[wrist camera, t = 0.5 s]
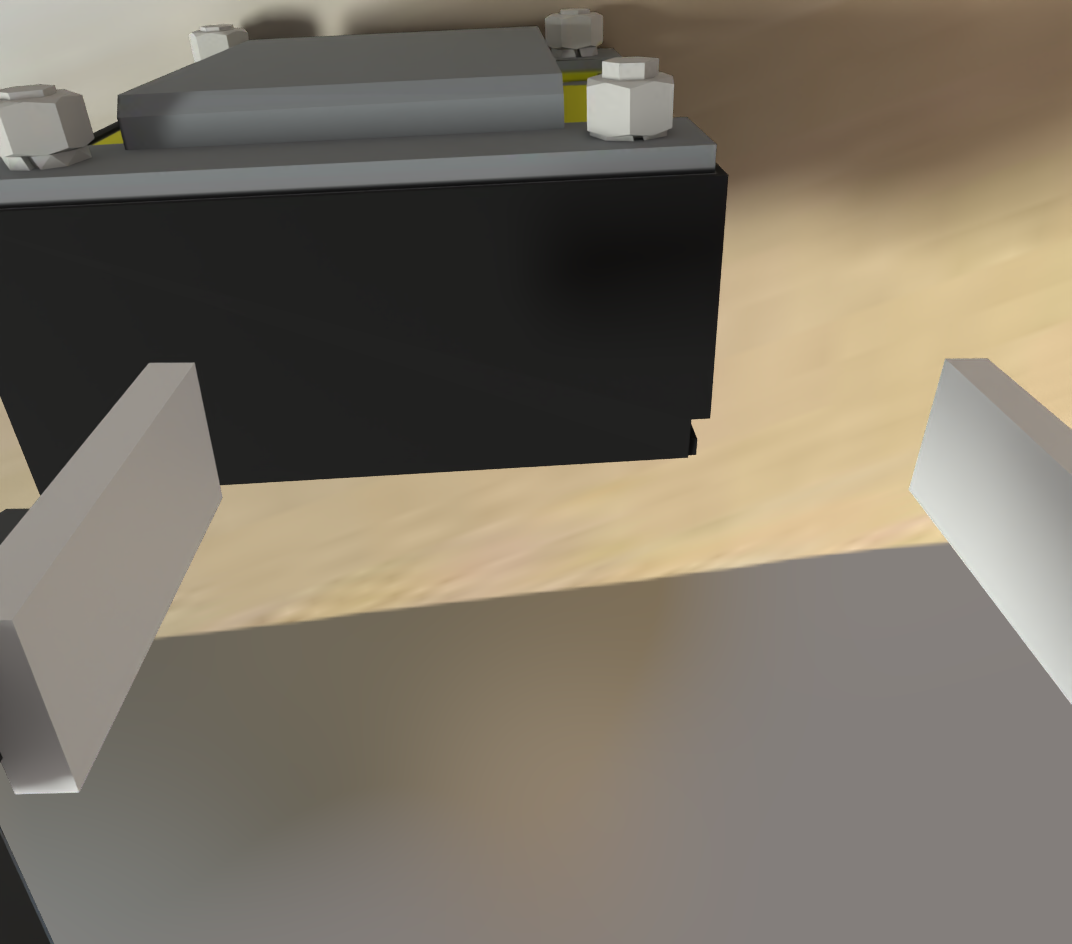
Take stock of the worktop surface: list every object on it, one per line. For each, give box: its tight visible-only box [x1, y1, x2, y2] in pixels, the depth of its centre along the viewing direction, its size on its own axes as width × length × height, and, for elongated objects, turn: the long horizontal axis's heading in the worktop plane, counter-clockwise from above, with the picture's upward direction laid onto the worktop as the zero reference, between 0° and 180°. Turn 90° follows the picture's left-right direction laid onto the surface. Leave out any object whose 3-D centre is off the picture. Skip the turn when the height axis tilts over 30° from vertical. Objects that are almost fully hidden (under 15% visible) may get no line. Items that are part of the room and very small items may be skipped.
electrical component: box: [0, 8, 728, 496], centre depth 29 cm, size 18×10×20 cm, turn 92°
